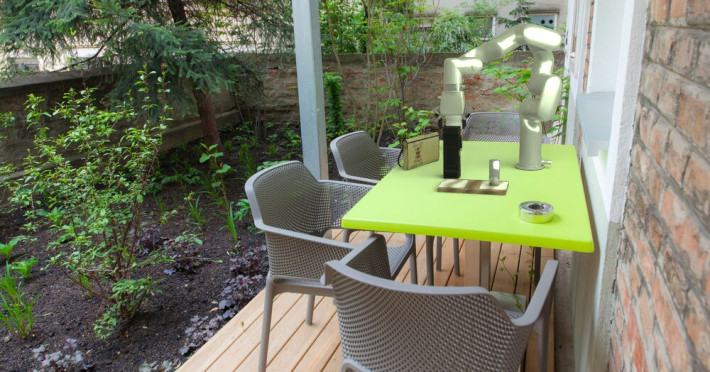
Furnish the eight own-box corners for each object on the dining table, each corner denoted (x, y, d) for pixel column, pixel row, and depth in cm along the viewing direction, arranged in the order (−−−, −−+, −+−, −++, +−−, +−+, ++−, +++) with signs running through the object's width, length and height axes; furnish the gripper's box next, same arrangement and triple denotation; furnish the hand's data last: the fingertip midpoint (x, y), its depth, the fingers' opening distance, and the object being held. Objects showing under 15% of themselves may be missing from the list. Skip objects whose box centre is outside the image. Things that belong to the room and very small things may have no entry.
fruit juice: (441, 151, 276) (441, 100, 269) (451, 148, 282) (451, 98, 275) (455, 152, 269) (455, 100, 262) (465, 149, 276) (466, 99, 269)
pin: (499, 183, 198) (500, 159, 195) (498, 186, 194) (499, 161, 192) (489, 183, 199) (489, 159, 197) (488, 186, 196) (488, 161, 193)
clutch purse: (430, 159, 258) (430, 130, 254) (441, 160, 253) (441, 131, 249) (393, 170, 238) (392, 139, 234) (405, 172, 233) (404, 140, 229)
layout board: (508, 184, 203) (508, 180, 202) (505, 195, 188) (505, 191, 188) (445, 181, 212) (445, 177, 211) (437, 191, 198) (437, 187, 197)
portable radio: (463, 176, 219) (463, 119, 213) (460, 179, 214) (460, 121, 208) (446, 175, 223) (445, 119, 216) (442, 178, 217) (442, 121, 211)
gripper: (474, 87, 209) (473, 127, 213) (434, 87, 215) (433, 127, 219) (472, 88, 202) (471, 130, 206) (430, 88, 208) (430, 129, 212)
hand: (452, 128), depth 213 cm, fingers open, 9 cm apart
